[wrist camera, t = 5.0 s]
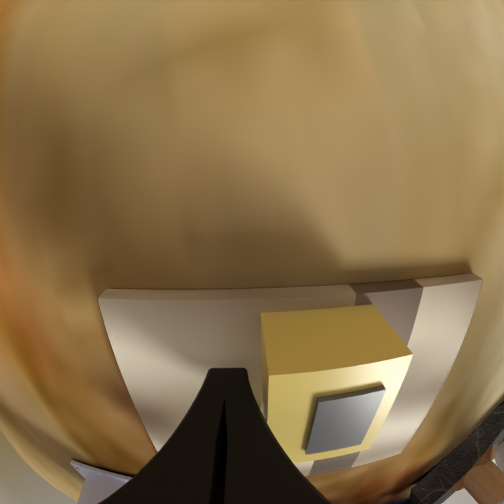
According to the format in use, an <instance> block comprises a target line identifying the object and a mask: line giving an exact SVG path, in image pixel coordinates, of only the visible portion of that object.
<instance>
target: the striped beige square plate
mask: <svg viewBox="0 0 504 504" xmlns="http://www.w3.org/2000/svg"><path fill="white" fill-rule="evenodd" d="M482 282H483V279H482V278H480V277H478V276H477V275H475V274H474V273H470V274H461V275H452V276H442V277H432V278H422V279H411V280H399V281H387V282H374V283H359V284H344V285H326V286H307V287H284V288H254V289H203V290H147V289H106V290H105V291H104V292H103V293H102V294H101V295H100V296H99V297H98V302H99V305H100V309H101V313H102V316H103V320H104V323H105V327H106V330H107V333H108V337H109V340H110V343H111V346H112V349H113V352H114V355H115V358H116V360H117V363H118V366H119V369H120V371H121V374H122V377H123V379H124V382H125V384H126V387H127V389H128V391H129V394H130V396H131V399H132V401H133V403H134V405H135V408H136V410H137V412H138V414H139V416H140V418H141V421H142V423H143V425H144V427H145V429H146V431H147V433H148V435H149V437H150V439H151V441H152V442H153V444H154V446H155V448H156V450H157V452H158V451H159V450H160V449H161V448H162V447H163V445H164V444H165V443H166V442H167V440H168V439H169V438H170V437H171V435H172V434H173V432H174V431H175V430H176V428H177V427H178V425H179V424H180V422H181V421H182V419H183V418H184V416H185V415H186V413H187V412H188V410H189V408H190V407H191V405H192V403H193V401H194V400H195V398H196V396H197V394H198V392H199V390H200V388H201V386H202V384H203V382H204V380H205V378H206V375H207V372H208V370H209V369H211V368H245V369H247V371H248V378H249V382H250V385H251V388H252V391H253V394H254V397H255V399H256V401H257V404H258V406H259V408H260V410H261V316H260V313H264V312H284V311H301V310H315V309H328V308H340V307H351V306H361V305H370V304H373V305H374V307H375V308H376V309H377V310H378V311H379V312H380V314H381V315H382V316H383V317H384V318H385V320H386V321H387V322H388V323H389V324H390V326H391V327H392V328H393V329H394V331H395V332H396V333H397V334H398V336H399V337H400V338H401V339H402V340H403V342H404V343H405V344H406V345H407V347H408V348H409V349H410V351H411V352H412V353H413V356H412V359H411V362H410V364H409V367H408V370H407V372H406V375H405V377H404V380H403V382H402V384H401V387H400V389H399V391H398V394H397V396H396V398H395V400H394V402H393V405H392V407H391V409H390V411H389V413H388V415H387V417H386V419H385V421H384V423H383V425H382V427H381V429H380V431H379V432H378V434H377V436H376V438H375V440H374V442H373V443H372V445H371V447H370V449H367V450H363V451H359V452H355V453H351V454H346V455H342V456H337V457H332V458H326V459H321V460H314V461H308V462H300V463H294V465H295V466H296V467H297V468H298V469H299V471H300V472H301V473H302V474H303V475H304V476H310V475H317V474H323V473H328V472H333V471H338V470H343V469H348V468H352V467H356V466H360V465H364V464H368V463H371V462H375V461H378V460H381V459H385V458H388V457H391V456H394V455H397V454H400V453H401V452H402V450H403V449H404V447H405V446H406V445H407V443H408V442H409V440H410V439H411V437H412V436H413V435H414V433H415V432H416V430H417V428H418V427H419V425H420V424H421V422H422V421H423V419H424V417H425V416H426V414H427V413H428V411H429V409H430V407H431V406H432V404H433V402H434V400H435V399H436V397H437V395H438V393H439V391H440V389H441V388H442V386H443V384H444V382H445V380H446V378H447V376H448V374H449V372H450V369H451V367H452V365H453V363H454V361H455V359H456V356H457V354H458V352H459V349H460V347H461V345H462V342H463V340H464V337H465V334H466V332H467V329H468V326H469V324H470V321H471V318H472V315H473V312H474V309H475V306H476V303H477V300H478V296H479V293H480V289H481V286H482Z"/></svg>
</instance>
